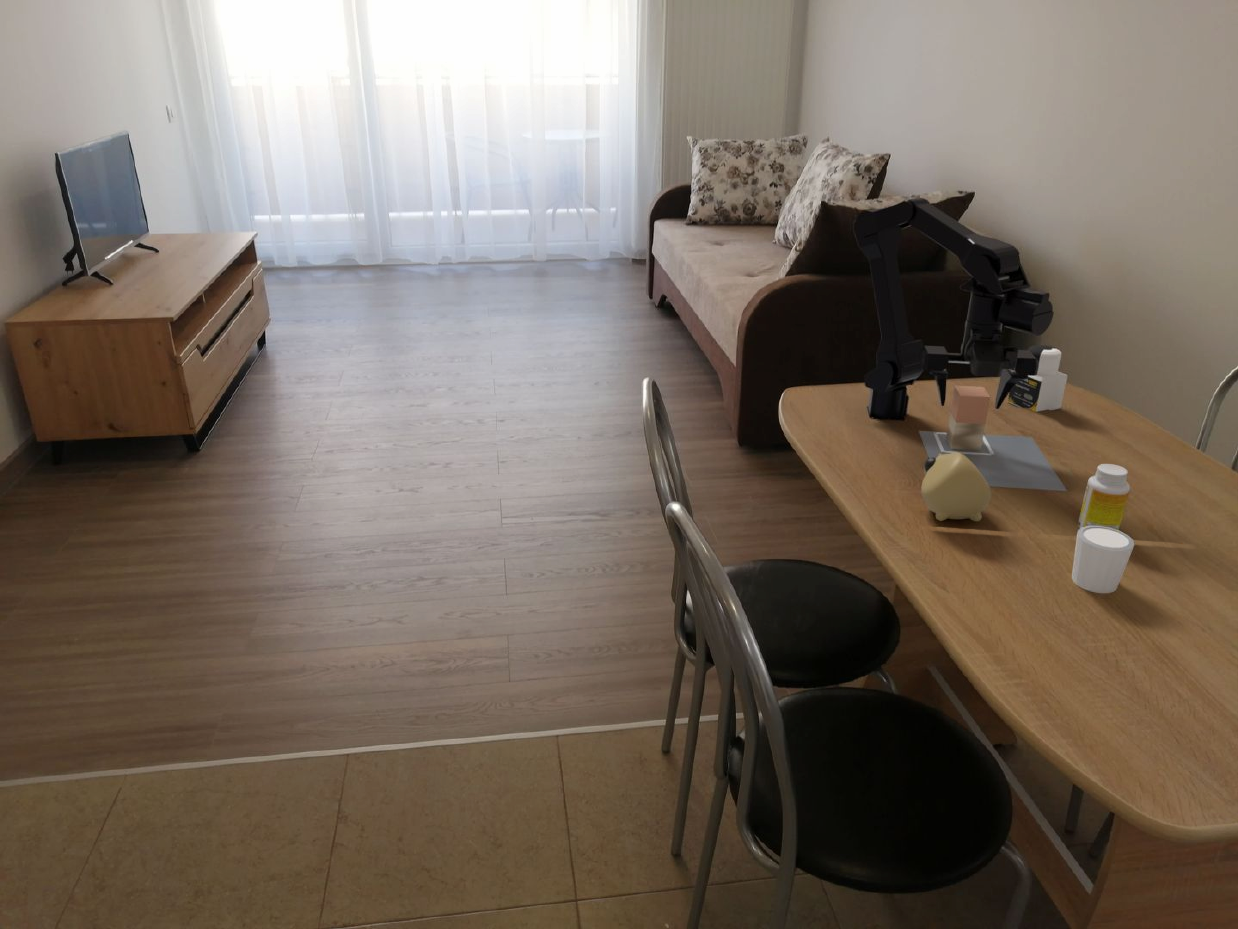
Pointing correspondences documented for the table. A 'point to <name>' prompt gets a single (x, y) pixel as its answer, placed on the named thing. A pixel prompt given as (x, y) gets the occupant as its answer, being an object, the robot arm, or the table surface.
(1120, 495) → the supplement bottle
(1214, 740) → the table surface
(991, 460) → the build mat
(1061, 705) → the table surface
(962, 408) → the top block
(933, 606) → the table surface
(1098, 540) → the white cylinder
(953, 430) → the base block
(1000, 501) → the table surface
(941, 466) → the toy pig
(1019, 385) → the medicine bottle
